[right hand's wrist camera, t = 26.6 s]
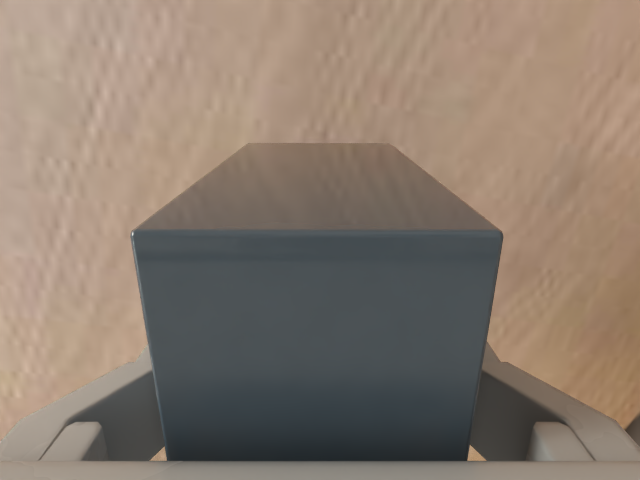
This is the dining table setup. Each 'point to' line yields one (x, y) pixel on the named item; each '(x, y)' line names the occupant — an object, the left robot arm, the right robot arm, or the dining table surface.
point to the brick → (317, 308)
